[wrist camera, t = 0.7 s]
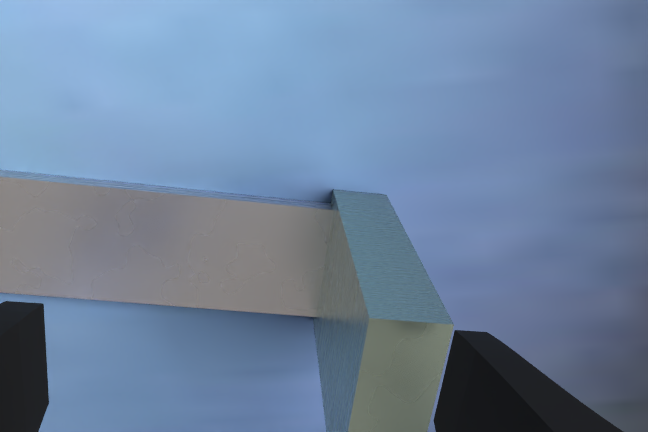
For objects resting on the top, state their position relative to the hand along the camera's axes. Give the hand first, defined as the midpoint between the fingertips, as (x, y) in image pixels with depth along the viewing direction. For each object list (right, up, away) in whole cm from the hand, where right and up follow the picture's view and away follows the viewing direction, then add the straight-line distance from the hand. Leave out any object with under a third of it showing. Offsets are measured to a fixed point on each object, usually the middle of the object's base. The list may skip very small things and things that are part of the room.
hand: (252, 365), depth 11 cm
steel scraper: (-5, +2, +9) cm, 10 cm away
